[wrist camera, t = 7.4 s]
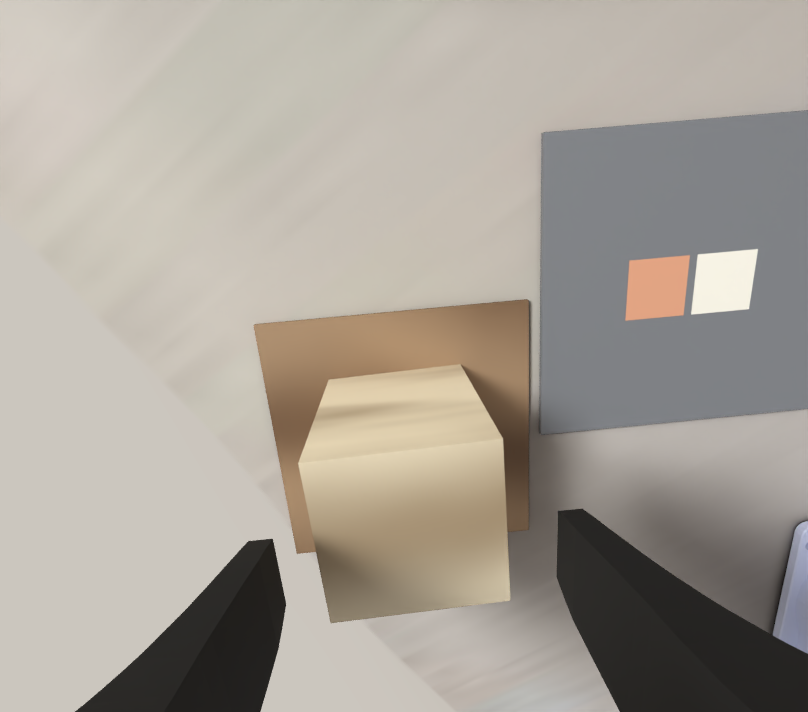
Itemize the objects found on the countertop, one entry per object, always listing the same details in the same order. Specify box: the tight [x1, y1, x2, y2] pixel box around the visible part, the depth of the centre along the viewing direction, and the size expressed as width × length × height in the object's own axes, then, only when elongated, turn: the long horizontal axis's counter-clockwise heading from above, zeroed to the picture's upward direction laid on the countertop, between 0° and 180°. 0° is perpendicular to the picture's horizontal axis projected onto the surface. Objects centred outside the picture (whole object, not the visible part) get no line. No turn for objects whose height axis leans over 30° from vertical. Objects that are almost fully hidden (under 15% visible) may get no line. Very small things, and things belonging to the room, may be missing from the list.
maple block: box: [298, 364, 510, 623], centre depth 14 cm, size 5×5×6 cm
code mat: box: [539, 110, 808, 435], centre depth 16 cm, size 11×11×1 cm
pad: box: [254, 299, 529, 554], centre depth 17 cm, size 10×10×1 cm
